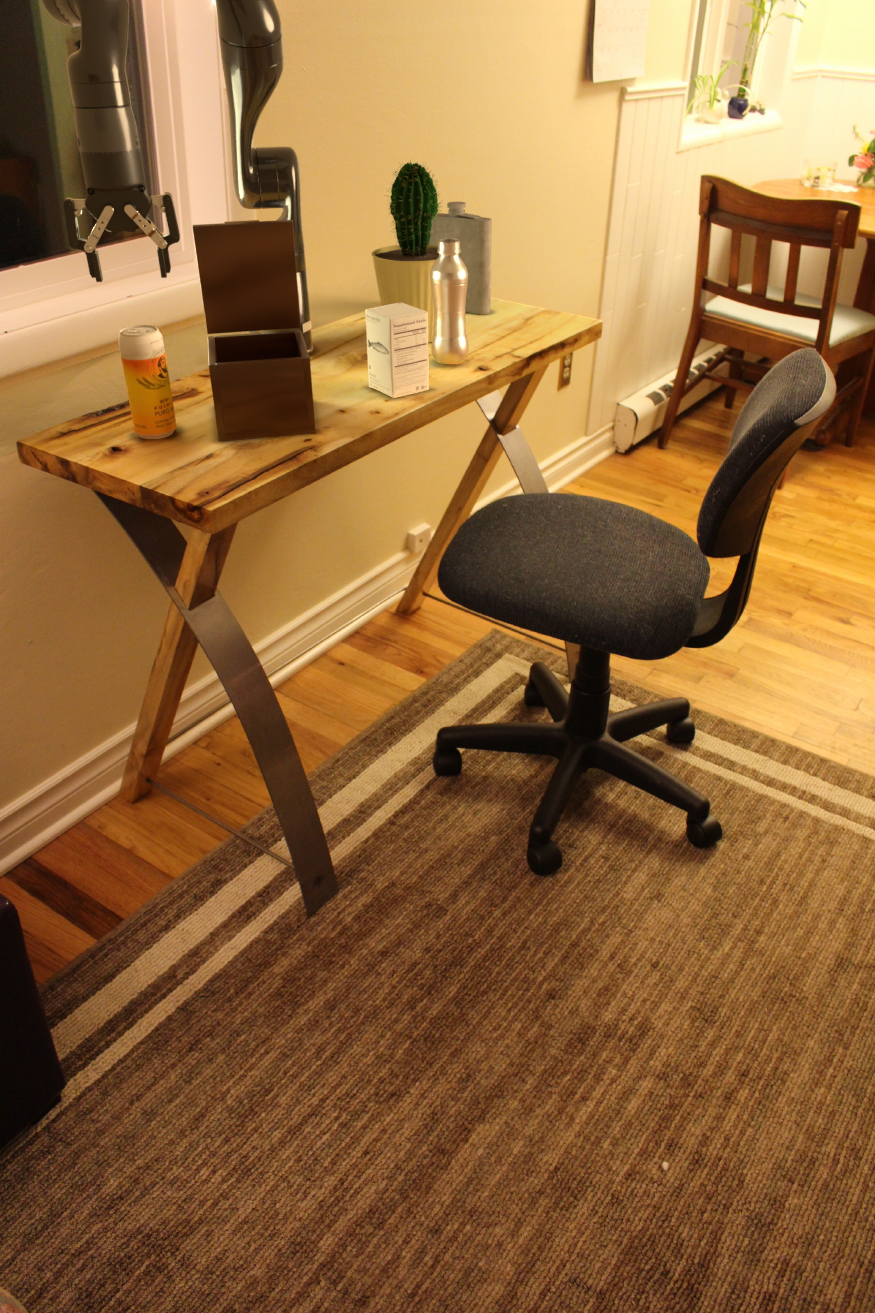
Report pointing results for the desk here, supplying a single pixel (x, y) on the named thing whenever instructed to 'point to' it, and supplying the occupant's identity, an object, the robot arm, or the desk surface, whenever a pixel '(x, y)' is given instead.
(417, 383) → the white packaging box
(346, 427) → the desk surface
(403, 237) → the potted cactus
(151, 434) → the beer can
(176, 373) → the desk surface
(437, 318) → the metal water bottle
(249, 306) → the lid
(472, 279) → the hip flask
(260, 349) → the chest
